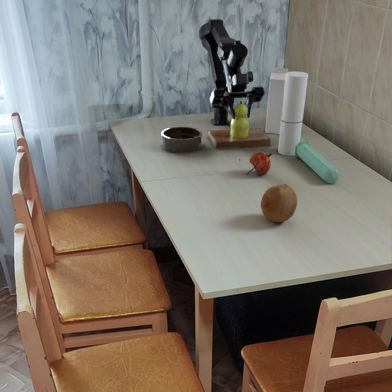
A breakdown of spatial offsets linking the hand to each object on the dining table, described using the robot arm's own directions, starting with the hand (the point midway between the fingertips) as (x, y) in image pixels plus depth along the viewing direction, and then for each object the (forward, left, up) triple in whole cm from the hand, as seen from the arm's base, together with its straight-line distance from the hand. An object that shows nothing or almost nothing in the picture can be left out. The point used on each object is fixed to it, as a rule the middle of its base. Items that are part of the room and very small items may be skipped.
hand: (241, 118), depth 191 cm
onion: (+63, -6, -9) cm, 63 cm away
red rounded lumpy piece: (+30, -2, -9) cm, 31 cm away
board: (-2, 0, -9) cm, 9 cm away
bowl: (+1, -22, -9) cm, 23 cm away
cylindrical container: (+12, +14, -9) cm, 21 cm away
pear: (-2, 0, -6) cm, 6 cm away
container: (+30, +18, -9) cm, 36 cm away
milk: (-11, +16, -9) cm, 22 cm away
